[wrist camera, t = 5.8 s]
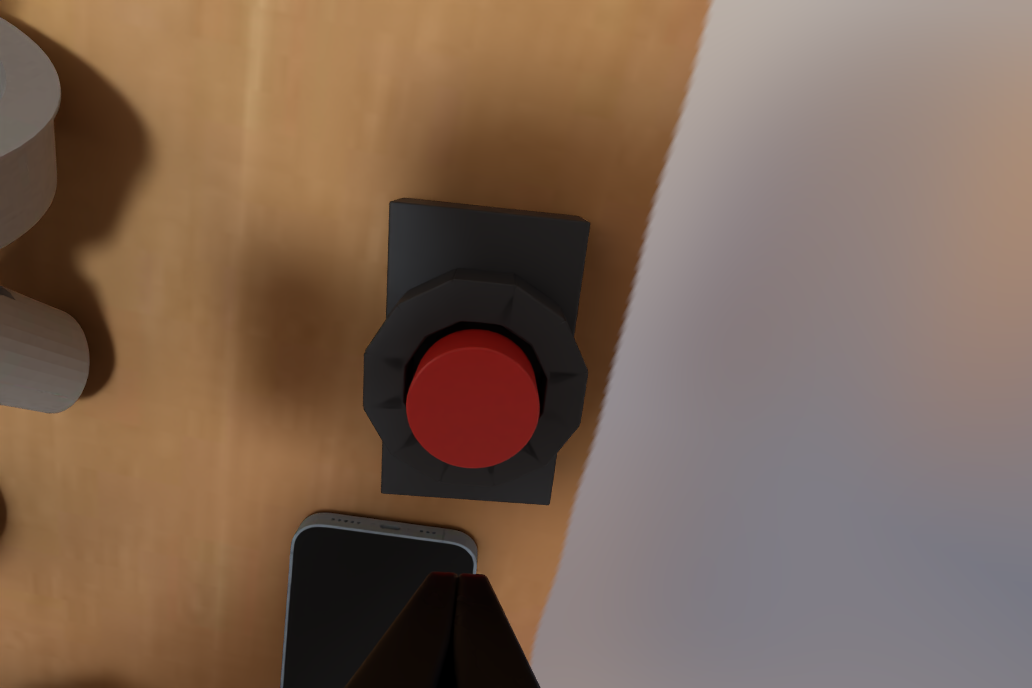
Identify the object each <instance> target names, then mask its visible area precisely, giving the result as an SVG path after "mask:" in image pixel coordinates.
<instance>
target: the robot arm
mask: <svg viewBox="0 0 1032 688" xmlns="http://www.w3.org/2000/svg"><path fill="white" fill-rule="evenodd" d="M457 582H458V584H457ZM344 688H540V686H539V684H538V682H537V680H536V677H535V675H534V673H533V671H532V669H531V667H530V665H529V663H528V661H527V659H526V657H525V655H524V653H523V650H522V648H521V646H520V644H519V642H518V640H517V638H516V636H515V634H514V632H513V630H512V628H511V626H510V623H509V621H508V619H507V617H506V615H505V613H504V611H503V609H502V607H501V605H500V603H499V601H498V599H497V596H496V594H495V592H494V590H493V588H492V586H491V584H490V582H489V580H488V578H487V577H486V576H485V575H483V574H469V573H462V574H460V575H459V577H458V576H457V574H456V573H452V572H436V571H434V572H431V573H430V574H429V575H428V576H427V577H426V578H425V580H424V581H423V582H422V584H421V585H420V586H419V588H418V589H417V590H416V592H415V593H414V595H413V596H412V597H411V599H410V600H409V601H408V603H407V604H406V605H405V607H404V608H403V609H402V611H401V612H400V613H399V615H398V616H397V617H396V619H395V620H394V621H393V623H392V624H391V626H390V627H389V628H388V630H387V631H386V632H385V634H384V635H383V636H382V638H381V639H380V640H379V642H378V643H377V644H376V646H375V647H374V648H373V650H372V651H371V652H370V654H369V655H368V656H367V658H366V659H365V661H364V662H363V663H362V665H361V666H360V667H359V669H358V670H357V671H356V673H355V674H354V675H353V677H352V678H351V679H350V681H349V682H348V683H347V685H346V686H345V687H344Z"/></svg>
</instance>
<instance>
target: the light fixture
mask: <svg viewBox="0 0 1032 688" xmlns="http://www.w3.org/2000/svg"><path fill="white" fill-rule="evenodd" d="M60 102H61V87H60V82H59V77H58V74H57V72H56V70H55V68H54V66H53V64H52V62H51V61H50V59H49V58H48V56H47V55H46V54H45V53H44V52H43V51H42V49H41V48H40V47H39V46H38V45H37V44H36V43H35V42H34V41H33V40H31V39H30V38H29V37H28V36H27V35H26V34H24V33H23V32H22V31H20V30H19V29H18V28H16V27H15V26H13V25H12V24H10V23H9V22H7V21H6V20H4V19H3V18H1V17H0V249H1V248H3V247H5V246H7V245H8V244H10V243H12V242H13V241H15V240H16V239H18V238H19V237H20V236H22V235H23V234H25V233H26V232H27V231H28V230H29V229H30V228H32V227H33V226H34V225H35V224H36V223H37V222H38V221H39V220H40V219H41V217H42V216H43V215H44V214H45V213H46V211H47V209H48V208H49V206H50V205H51V203H52V200H53V198H54V196H55V192H56V188H57V166H56V150H55V135H54V118H55V116H56V114H57V112H58V110H59V106H60ZM89 364H90V361H89V349H88V344H87V340H86V337H85V335H84V332H83V330H82V329H81V327H80V325H79V324H78V323H77V321H76V320H75V319H74V318H73V317H72V316H70V315H69V314H68V313H66V312H64V311H62V310H59V309H57V308H54V307H52V306H49V305H47V304H45V303H42V302H40V301H37V300H35V299H32V298H30V297H27V296H25V295H22V294H20V293H18V292H15V291H13V290H10V289H8V288H5V287H3V286H0V405H5V406H11V407H16V408H22V409H28V410H33V411H39V412H45V413H59V412H62V411H64V410H66V409H68V408H69V407H71V406H72V405H73V404H74V403H75V402H76V401H77V399H78V398H79V396H80V395H81V393H82V391H83V389H84V387H85V385H86V381H87V377H88V373H89Z"/></svg>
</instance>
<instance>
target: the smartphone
mask: <svg viewBox="0 0 1032 688" xmlns="http://www.w3.org/2000/svg"><path fill="white" fill-rule="evenodd" d="M476 568H477V547H476V544H475V542H474V541H473V540H472V538H471V537H469V536H468V535H467V534H465V533H463V532H460V531H457V530H451V529H444V528H437V527H430V526H422V525H415V524H408V523H400V522H393V521H386V520H378V519H371V518H364V517H356V516H349V515H342V514H334V513H317V514H313V515H310V516H309V517H307V518H306V519H305V520H304V521H303V522H302V523H301V525H300V526H299V528H298V530H297V532H296V533H295V535H294V537H293V539H292V543H291V551H290V564H289V577H288V591H287V604H286V617H285V631H284V644H283V657H282V671H281V684H280V688H344V687H345V686H346V685H347V683H348V682H349V681H350V679H351V678H352V677H353V675H354V674H355V673H356V671H357V670H358V669H359V667H360V666H361V665H362V663H363V662H364V661H365V659H366V658H367V656H368V655H369V654H370V652H371V651H372V650H373V648H374V647H375V646H376V644H377V643H378V642H379V640H380V639H381V638H382V636H383V635H384V634H385V632H386V631H387V630H388V628H389V627H390V626H391V624H392V623H393V621H394V620H395V619H396V617H397V616H398V615H399V613H400V612H401V611H402V609H403V608H404V607H405V605H406V604H407V603H408V601H409V600H410V599H411V597H412V596H413V595H414V593H415V592H416V590H417V589H418V588H419V586H420V585H421V584H422V582H423V581H424V580H425V578H426V577H427V576H428V575H429V574H430V573H431V572H434V571H436V572H452V573H456V574H457V576H458V577H459V575H460V574H462V573H469V574H476ZM457 584H458V582H457Z"/></svg>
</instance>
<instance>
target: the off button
mask: <svg viewBox="0 0 1032 688" xmlns="http://www.w3.org/2000/svg"><path fill="white" fill-rule="evenodd" d="M406 413H407V419H408V422H409V426H410V428H411V430H412V432H413V434H414V436H415V438H416V439H417V441H418V442H419V443H420V444H421V445H422V447H423V448H424V449H425V450H426V451H428V452H429V453H430V454H431V455H433V456H434V457H436V458H437V459H439V460H441V461H443V462H445V463H448V464H450V465H454V466H458V467H463V468H484V467H489V466H493V465H496V464H499V463H502V462H504V461H506V460H508V459H509V458H511V457H513V456H514V455H515V454H517V453H518V452H519V451H520V450H521V449H522V448H523V447H524V446H525V445H526V444H527V443H528V441H529V440H530V438H531V437H532V435H533V433H534V431H535V429H536V426H537V423H538V419H539V413H540V403H539V395H538V390H537V384H536V379H535V374H534V370H533V367H532V365H531V362H530V361H529V359H528V357H527V356H526V354H525V353H524V352H523V350H522V349H521V348H520V347H519V346H518V345H517V344H515V343H514V342H513V341H512V340H510V339H508V338H507V337H505V336H503V335H501V334H498V333H496V332H492V331H489V330H483V329H467V330H461V331H457V332H454V333H451V334H448V335H447V336H445V337H443V338H441V339H440V340H438V341H437V342H435V343H434V344H433V345H432V346H431V347H430V348H429V349H428V350H427V352H426V353H425V354H424V356H423V357H422V359H421V361H420V363H419V365H418V368H417V370H416V373H415V375H414V377H413V380H412V382H411V385H410V387H409V390H408V394H407V400H406Z"/></svg>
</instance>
